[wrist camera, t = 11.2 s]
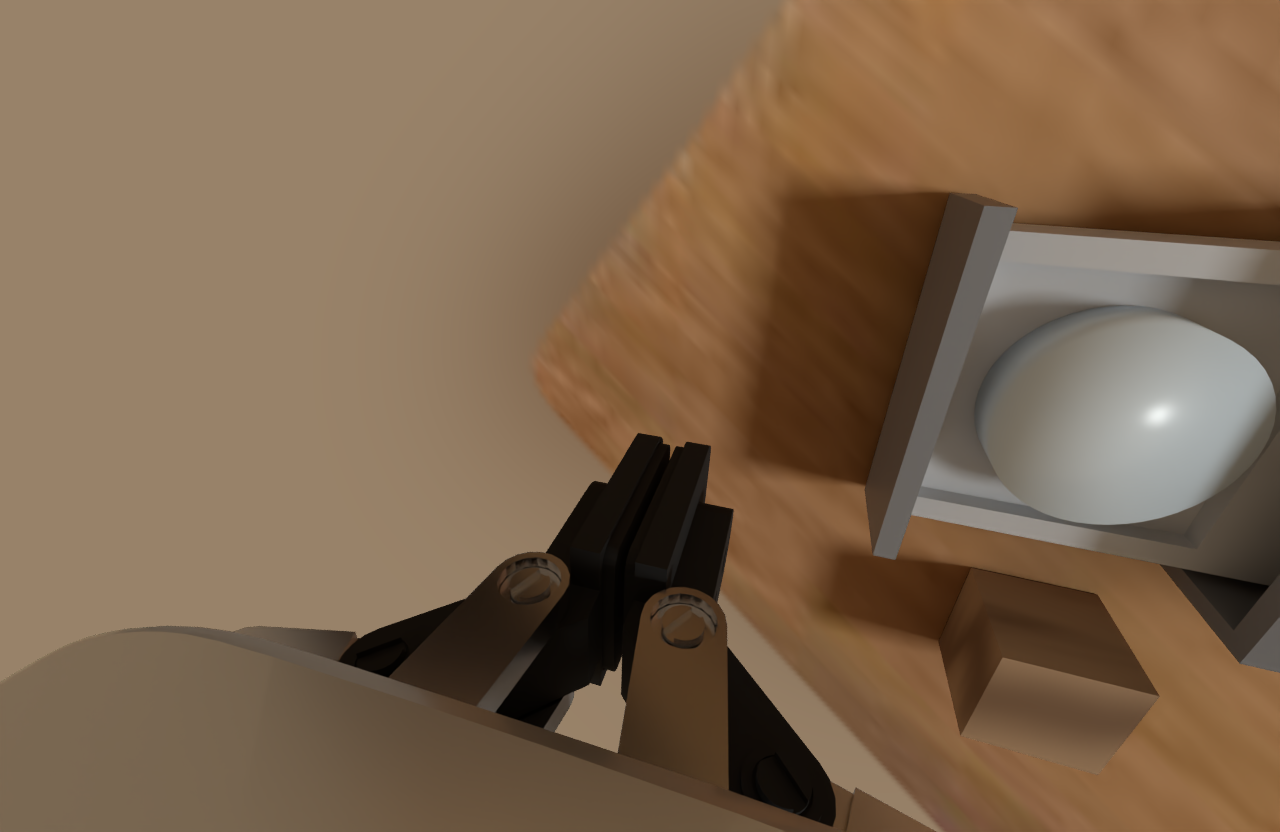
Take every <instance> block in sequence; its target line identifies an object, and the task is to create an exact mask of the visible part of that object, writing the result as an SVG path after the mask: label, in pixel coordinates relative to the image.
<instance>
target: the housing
mask: <svg viewBox="0 0 1280 832" xmlns="http://www.w3.org/2000/svg"><path fill="white" fill-rule="evenodd" d="M1160 565H1161V566H1162V567H1163V569H1164V570H1165V571H1166V572H1167V574H1168V575H1169V576H1170V577H1171V579H1172V580H1173V581H1174V582H1175V584H1176V585H1177V586H1178V587H1179V589H1180V590H1181V591H1182V592H1183V594H1184V595H1185V596H1186V597H1187V599H1188V600H1189V601H1190V602H1191V604H1192V605H1193V606H1194V607H1195V609H1196V610H1197V611H1198V612H1199V613H1200V615H1201V616H1202V617H1203V618H1204V620H1205V621H1206V622H1207V623H1208V625H1209V626H1210V627H1211V628H1212V630H1213V631H1214V632H1215V633H1216V635H1217V636H1218V637H1219V638H1220V640H1221V641H1222V642H1223V643H1224V645H1225V646H1226V647H1227V648H1228V650H1229V651H1230V652H1231V653H1232V655H1233V656H1234V657H1235V658H1236V659H1237V661H1238V662H1239V663H1240V664H1244V665H1248V666H1253V667H1257V668H1261V669H1266V670H1270V671H1275V672H1279V673H1280V574H1279V575H1278V577H1277V578H1276V579H1275V580H1274V581H1273V583H1272V584H1271V585H1270V586H1268V585H1263V584H1258V583H1253V582H1248V581H1243V580H1238V579H1233V578H1228V577H1223V576H1218V575H1213V574H1208V573H1203V572H1198V571H1193V570H1187V569H1182V568H1177V567H1172V566H1167V565H1162V564H1160Z"/></svg>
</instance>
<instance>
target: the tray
mask: <svg viewBox="0 0 1280 832" xmlns="http://www.w3.org/2000/svg"><path fill="white" fill-rule="evenodd" d="M1017 209H1018V208H1017V207H1014V206H1011V205H1008V204H1004V203H1001V202H998V201H995V200H992V199H989V198H986V197H983V196H980V195H977V194H962V193H950V195H949V198H948V202H947V205H946V208H945V212H944V215H943V219H942V222H941V226H940V229H939V233H938V236H937V240H936V243H935V247H934V250H933V254H932V257H931V261H930V264H929V268H928V271H927V274H926V278H925V281H924V285H923V288H922V292H921V295H920V299H919V302H918V306H917V309H916V313H915V316H914V320H913V323H912V327H911V330H910V334H909V337H908V340H907V344H906V347H905V351H904V354H903V358H902V361H901V365H900V368H899V372H898V375H897V379H896V382H895V386H894V389H893V393H892V396H891V399H890V403H889V406H888V410H887V413H886V417H885V420H884V424H883V427H882V431H881V434H880V438H879V441H878V445H877V448H876V452H875V455H874V459H873V462H872V465H871V469H870V472H869V476H868V479H867V483H866V486H865V496H866V504H867V512H868V520H869V529H870V537H871V545H872V553H873V555H875V556H879V557H884V558H889V559H893V560H896V557H897V554H898V551H899V548H900V545H901V542H902V539H903V537H904V534H905V531H906V528H907V525H908V522H909V519H910V517H911V515H915V516H920V517H925V518H930V519H935V520H940V521H945V522H950V523H955V524H960V525H965V526H970V527H975V528H980V529H985V530H991V531H996V532H1001V533H1006V534H1011V535H1016V536H1021V537H1026V538H1031V539H1036V540H1041V541H1046V542H1051V543H1056V544H1061V545H1066V546H1071V547H1076V548H1081V549H1086V550H1092V551H1097V552H1102V553H1107V554H1112V555H1117V556H1122V557H1127V558H1132V559H1137V560H1142V561H1147V562H1152V563H1157V564H1162V565H1167V566H1172V567H1177V568H1182V569H1187V570H1193V571H1198V572H1203V573H1208V574H1213V575H1218V576H1223V577H1228V578H1233V579H1238V580H1243V581H1248V582H1253V583H1258V584H1263V585H1268V586H1270V585H1271V584H1272V583H1273V581H1274V580H1275V579H1276V578H1277V577H1278V575H1279V574H1280V242H1278V241H1263V240H1249V239H1235V238H1220V237H1206V236H1192V235H1177V234H1163V233H1149V232H1134V231H1120V230H1106V229H1091V228H1077V227H1063V226H1048V225H1034V224H1020V223H1013V221H1014V218H1015V215H1016V212H1017ZM1118 305H1128V306H1144V307H1151V308H1157V309H1161V310H1165V311H1169V312H1172V313H1175V314H1177V315H1180V316H1182V317H1184V318H1187V319H1189V320H1191V321H1193V322H1195V323H1197V324H1199V325H1201V326H1203V327H1205V328H1207V329H1209V330H1211V331H1213V332H1216V333H1218V334H1220V335H1222V336H1224V337H1226V338H1228V339H1230V340H1231V341H1233V342H1235V343H1236V344H1238V345H1240V346H1241V347H1243V348H1244V349H1246V350H1247V351H1248V352H1249V353H1250V354H1251V355H1253V356H1254V357H1255V358H1256V359H1257V360H1258V362H1259V363H1260V364H1261V365H1262V366H1263V368H1264V369H1265V370H1266V372H1267V374H1268V376H1269V378H1270V380H1271V382H1272V385H1273V389H1274V392H1275V396H1276V415H1275V422H1274V426H1273V429H1272V432H1271V434H1270V437H1269V440H1268V441H1267V443H1266V445H1265V447H1264V449H1263V450H1262V452H1261V453H1260V455H1259V456H1258V457H1257V459H1256V460H1255V461H1254V463H1253V464H1252V465H1251V466H1250V467H1249V468H1248V469H1247V470H1246V471H1245V472H1244V473H1243V474H1242V475H1241V476H1240V477H1239V478H1238V479H1237V480H1235V481H1234V482H1233V483H1232V484H1230V485H1229V486H1228V487H1227V488H1225V489H1224V490H1222V491H1220V492H1219V493H1217V494H1216V495H1214V496H1213V497H1211V498H1209V499H1207V500H1205V501H1203V502H1201V503H1199V504H1197V505H1195V506H1193V507H1190V508H1188V509H1185V510H1183V511H1181V512H1178V513H1175V514H1172V515H1168V516H1165V517H1162V518H1158V519H1153V520H1148V521H1144V522H1137V523H1129V524H1115V525H1098V524H1085V523H1077V522H1072V521H1067V520H1063V519H1059V518H1056V517H1053V516H1050V515H1047V514H1044V513H1042V512H1040V511H1038V510H1036V509H1033V508H1032V507H1030V506H1028V505H1027V504H1025V503H1024V502H1022V501H1021V500H1019V499H1018V498H1017V497H1016V496H1014V495H1013V494H1012V493H1011V492H1010V491H1009V490H1008V489H1007V488H1006V487H1005V486H1004V485H1003V483H1002V482H1001V480H1000V479H999V477H998V476H997V474H996V472H995V470H994V468H993V466H992V464H991V463H990V461H989V459H988V457H987V455H986V453H985V451H984V449H983V447H982V445H981V443H980V440H979V438H978V436H977V432H976V428H975V419H974V411H975V402H976V399H977V395H978V391H979V389H980V387H981V384H982V382H983V380H984V378H985V377H986V375H987V373H988V372H989V370H990V369H991V367H992V366H993V365H994V363H995V362H996V361H997V360H998V358H999V357H1000V356H1001V355H1002V354H1003V353H1004V352H1005V351H1006V350H1007V349H1008V348H1009V347H1011V346H1012V345H1013V344H1015V343H1016V342H1017V341H1018V340H1020V339H1021V338H1022V337H1024V336H1025V335H1027V334H1028V333H1030V332H1032V331H1033V330H1035V329H1036V328H1038V327H1040V326H1042V325H1044V324H1046V323H1048V322H1050V321H1053V320H1055V319H1058V318H1060V317H1063V316H1066V315H1068V314H1072V313H1076V312H1079V311H1083V310H1087V309H1093V308H1098V307H1106V306H1118Z"/></svg>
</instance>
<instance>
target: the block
mask: <svg viewBox="0 0 1280 832" xmlns="http://www.w3.org/2000/svg"><path fill="white" fill-rule="evenodd" d="M939 646H940V650H941V654H942V658H943V663H944V667H945V671H946V676H947V680H948V684H949V688H950V693H951V697H952V701H953V706H954V710H955V714H956V718H957V723H958V727H959V731H960V735H961V736H963V737H966V738H970V739H973V740H977V741H980V742H984V743H987V744H991V745H994V746H998V747H1001V748H1005V749H1008V750H1012V751H1015V752H1018V753H1022V754H1025V755H1029V756H1032V757H1036V758H1039V759H1043V760H1046V761H1050V762H1053V763H1057V764H1060V765H1064V766H1067V767H1071V768H1074V769H1078V770H1081V771H1085V772H1088V773H1092V774H1095V775H1098V774H1099V773H1100V772H1101V771H1102V769H1103V768H1104V767H1105V765H1106V764H1107V763H1108V762H1109V760H1110V759H1111V758H1112V757H1113V755H1114V754H1115V753H1116V751H1117V750H1118V749H1119V748H1120V746H1121V745H1122V744H1123V743H1124V741H1125V740H1126V739H1127V737H1128V736H1129V735H1130V734H1131V732H1132V731H1133V730H1134V729H1135V727H1136V726H1137V725H1138V723H1139V722H1140V721H1141V720H1142V718H1143V717H1144V716H1145V715H1146V713H1147V712H1148V711H1149V709H1150V708H1151V707H1152V706H1153V704H1154V703H1155V702H1156V701H1157V699H1158V698H1159V697H1160V696H1159V694H1158V693H1157V691H1156V690H1155V688H1154V686H1153V685H1152V683H1151V681H1150V680H1149V678H1148V676H1147V675H1146V673H1145V672H1144V670H1143V668H1142V667H1141V665H1140V663H1139V662H1138V660H1137V658H1136V657H1135V655H1134V654H1133V652H1132V650H1131V649H1130V647H1129V645H1128V644H1127V642H1126V640H1125V639H1124V637H1123V636H1122V634H1121V632H1120V631H1119V629H1118V627H1117V626H1116V624H1115V622H1114V621H1113V619H1112V618H1111V616H1110V614H1109V613H1108V611H1107V609H1106V608H1105V606H1104V604H1103V603H1102V601H1101V600H1100V598H1099V596H1098V595H1096V594H1091V593H1087V592H1082V591H1077V590H1073V589H1068V588H1063V587H1059V586H1054V585H1049V584H1045V583H1040V582H1035V581H1031V580H1026V579H1022V578H1017V577H1012V576H1008V575H1003V574H998V573H994V572H989V571H984V570H980V569H975V568H971V569H970V572H969V574H968V576H967V578H966V581H965V583H964V585H963V587H962V590H961V592H960V594H959V596H958V599H957V601H956V603H955V605H954V608H953V610H952V612H951V615H950V617H949V619H948V621H947V624H946V626H945V628H944V630H943V633H942V635H941V637H940V639H939Z"/></svg>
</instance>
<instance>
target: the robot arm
mask: <svg viewBox="0 0 1280 832" xmlns="http://www.w3.org/2000/svg"><path fill="white" fill-rule="evenodd" d="M710 453H711V446H708V445H703V444H697V443H692V442H686V444H685V446H684V447H678V446H676V448H675V450H674V452H673V454H672V456H671V459H670V445H667V444H663V439H662V437H658V436H652V435H647V434H641V433H638V434H637V435H636V437H635V439H634V440H633V442H632V444H631V445H630V447H629V449H628V450H627V452H626V454H625V455H624V457H623V459H622V460H621V462H620V464H619V465H618V467H617V469H616V470H615V472H614V474H613V475H612V477H611V479H610V480H609V482H608V484H607V483H603V482H597V481H594V482H592V483H591V484H590V486H589V487H588V489H587V490H586V492H585V493H584V495H583V496H582V498H581V499H580V501H579V502H578V504H577V505H576V507H575V509H574V510H573V512H572V513H571V515H570V516H569V518H568V519H567V521H566V522H565V524H564V526H563V527H562V529H561V530H560V532H559V533H558V535H557V536H556V538H555V539H554V541H553V542H552V544H551V546H550V547H549V549H548V550H547V552H546V553H543V552H527V553H522V554H518V555H515V556H513V557H511V558H509V559H507V560H505V561H504V562H503V563H501V564H500V565H499V566H497V567H496V569H494V570H493V571H492V573H491V574H490V575H489V576H488V577H487V578H486V579H485V580H484V581H483V582H482V583H481V584H480V585H479V586H478V587H477V588H476V589H475V590H474V591H473V592H472V593H471V594H470V595H469V596H468V597H467V598H466V599H463V600H460V601H457V602H454V603H452V604H449V605H446V606H443V607H440V608H437V609H434V610H431V611H428V612H426V613H423V614H420V615H417V616H414V617H411V618H408V619H405V620H403V621H400V622H397V623H394V624H391V625H388V626H385V627H382V628H379V629H377V630H375V631H373V632H371V633H368V634H366V635H364V636H363V637H362V638H357V636H356V633H355V632H349V631H332V630H315V629H299V628H281V627H265V626H264V627H263V626H257V627H247V628H243V629H240V630H237V631H234V632H231V631H223V630H217V629H210V628H202V627H184V626H157V627H143V628H130V629H123V630H117V631H111V632H107V633H102V634H98V635H93V636H90V637H87V638H84V639H81V640H79V641H76V642H73V643H70V644H68V645H65V646H63V647H62V648H59V649H57V650H55V651H53V652H51V653H49V654H47V655H46V656H44V657H42V658H40V659H38V660H37V661H35V662H33V663H31V664H29V665H28V666H26V667H24V668H23V669H21V670H19V671H17V672H16V673H14V674H12V675H11V676H9V677H7V678H6V679H4V680H3V681H1V682H0V832H936V831H934V830H932V829H930V828H929V827H927V826H925V825H923V824H921V823H920V822H918V821H916V820H914V819H912V818H911V817H909V816H907V815H905V814H903V813H902V812H900V811H898V810H896V809H894V808H892V807H891V806H889V805H887V804H885V803H883V802H881V801H880V800H878V799H876V798H874V797H872V796H871V795H869V794H867V793H865V792H863V791H861V790H859V789H858V788H855V790H854V793H851V792H849V791H847V790H845V789H844V788H842V787H840V786H838V785H836V784H835V783H832V782H831V781H830V779H829V778H828V776H827V774H826V773H825V771H824V770H823V768H822V766H821V765H820V763H819V762H818V760H817V759H816V758H815V757H814V755H813V754H812V753H811V752H810V751H809V749H808V748H807V746H806V745H805V744H804V743H803V742H802V740H801V739H800V738H799V736H798V735H797V734H796V733H795V731H794V730H793V729H792V728H791V726H790V725H789V724H788V723H787V721H786V720H785V719H784V717H782V715H781V714H780V712H779V711H778V710H777V709H776V707H775V706H774V705H773V703H772V702H771V701H770V700H769V698H768V697H767V696H766V695H765V693H764V692H763V691H762V689H761V688H760V687H759V686H758V684H757V683H756V682H755V681H754V679H753V678H752V677H751V675H750V674H749V673H748V672H747V670H746V669H745V668H744V667H743V665H742V664H741V663H740V662H739V660H738V659H737V658H736V657H735V655H734V654H733V653H732V651H731V650H730V649H729V648H728V646H727V623H726V617H725V614H724V612H723V610H722V609H721V607H720V606H719V604H718V603H717V601H718V596H719V591H720V587H721V582H722V577H723V572H724V567H725V562H726V557H727V551H728V545H729V539H730V532H731V526H732V519H733V511H734V510H733V509H730V508H725V507H720V506H715V505H710V504H705V497H706V488H707V479H708V471H709V462H710ZM669 460H670V461H669ZM621 657H622V684H621V695H622V697H623V699H624V700H625V702H626V707H625V713H624V719H623V725H622V730H621V736H620V743H619V748H618V753H615V752H612V751H609V750H606V749H603V748H600V747H597V746H594V745H591V744H588V743H585V742H582V741H579V740H576V739H573V738H570V737H567V736H564V735H561V734H558V733H555V730H556V729H557V727H558V725H559V724H560V722H561V721H562V719H563V717H564V716H565V714H566V712H567V711H568V709H569V707H570V705H571V703H572V700H573V698H574V691H576V690H579V689H581V688H583V687H585V686H587V685H589V683H592V684H596V685H599V686H601V684H602V681H603V678H604V676H605V673H606V671H607V670H611V671H616V669H617V667H618V664H619V662H620V659H621Z"/></svg>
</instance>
